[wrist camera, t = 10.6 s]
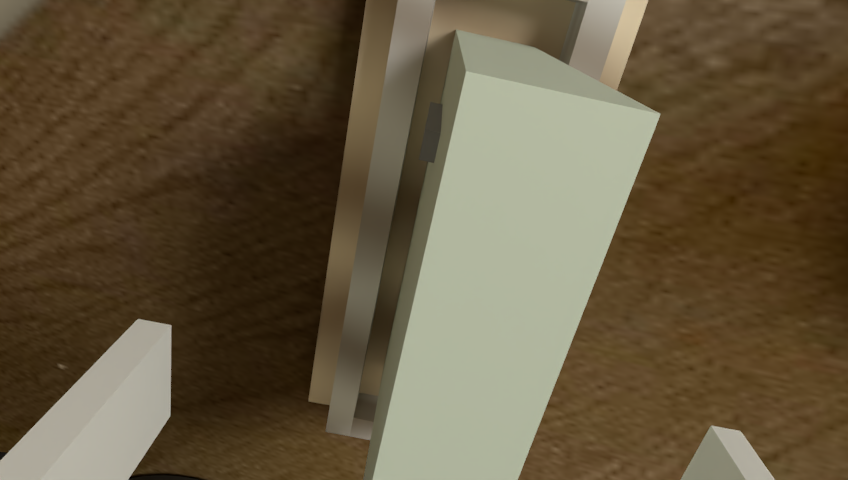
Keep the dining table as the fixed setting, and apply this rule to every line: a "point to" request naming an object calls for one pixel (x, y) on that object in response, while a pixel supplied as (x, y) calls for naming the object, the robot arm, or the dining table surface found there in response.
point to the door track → (420, 162)
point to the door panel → (500, 257)
